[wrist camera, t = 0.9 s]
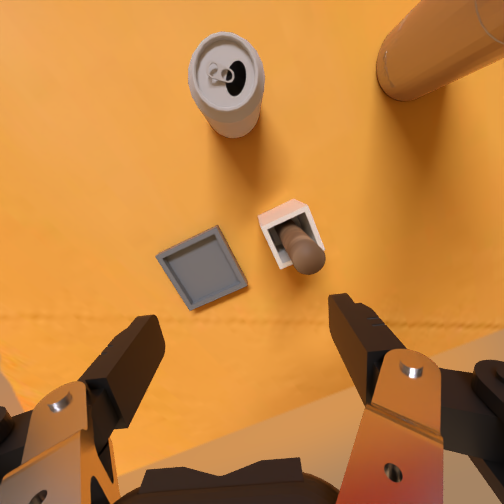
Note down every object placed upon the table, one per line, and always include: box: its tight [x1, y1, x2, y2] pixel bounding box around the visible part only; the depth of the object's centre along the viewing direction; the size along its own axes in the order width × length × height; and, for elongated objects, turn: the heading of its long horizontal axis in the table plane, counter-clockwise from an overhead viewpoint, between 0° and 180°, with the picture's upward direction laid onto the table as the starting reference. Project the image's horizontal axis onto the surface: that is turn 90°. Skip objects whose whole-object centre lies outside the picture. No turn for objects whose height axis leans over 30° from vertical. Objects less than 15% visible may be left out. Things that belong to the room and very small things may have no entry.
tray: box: [155, 225, 247, 311], centre depth 39 cm, size 11×11×2 cm
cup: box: [258, 199, 325, 269], centre depth 33 cm, size 6×6×9 cm
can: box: [188, 32, 265, 138], centre depth 27 cm, size 8×8×12 cm
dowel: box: [274, 219, 325, 275], centre depth 29 cm, size 3×3×16 cm
